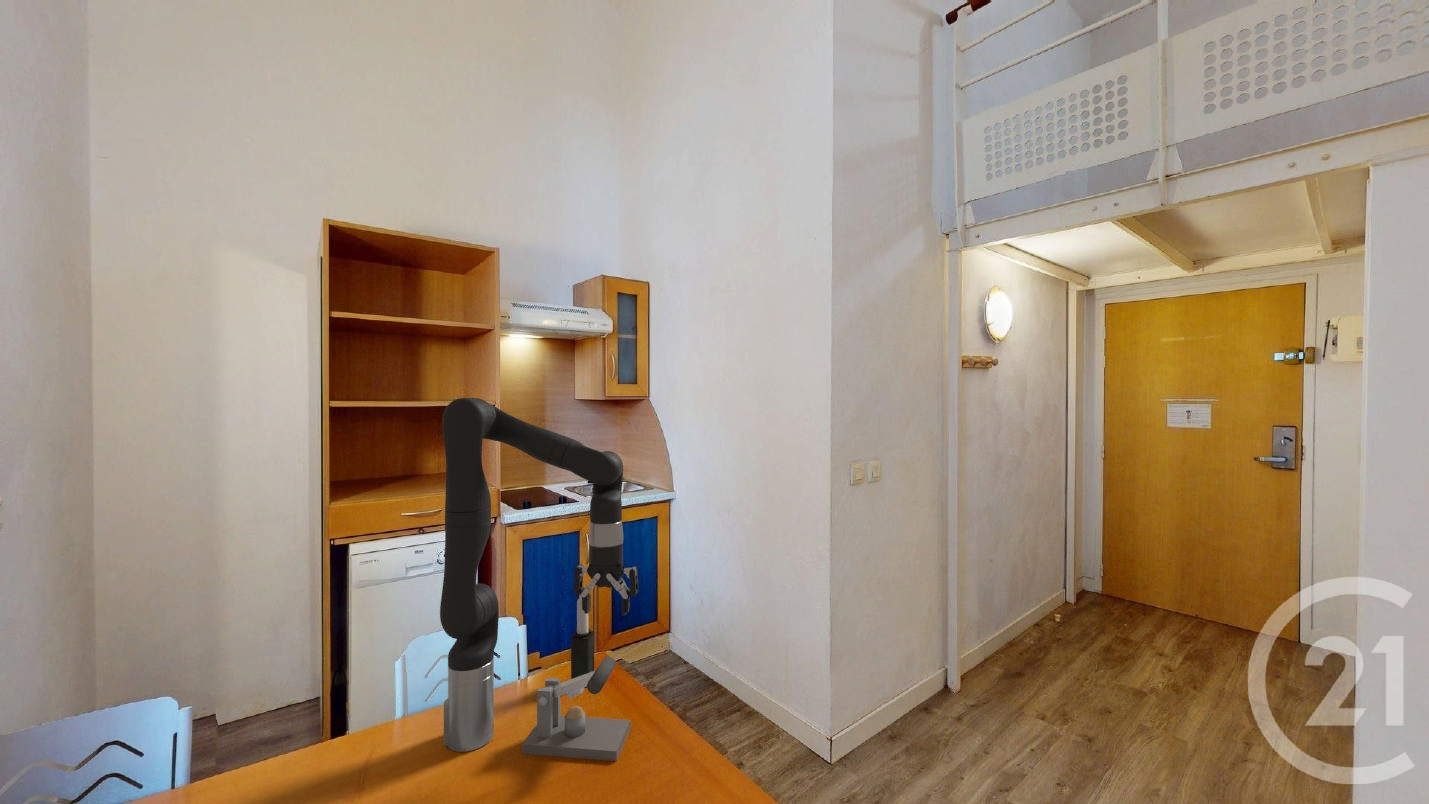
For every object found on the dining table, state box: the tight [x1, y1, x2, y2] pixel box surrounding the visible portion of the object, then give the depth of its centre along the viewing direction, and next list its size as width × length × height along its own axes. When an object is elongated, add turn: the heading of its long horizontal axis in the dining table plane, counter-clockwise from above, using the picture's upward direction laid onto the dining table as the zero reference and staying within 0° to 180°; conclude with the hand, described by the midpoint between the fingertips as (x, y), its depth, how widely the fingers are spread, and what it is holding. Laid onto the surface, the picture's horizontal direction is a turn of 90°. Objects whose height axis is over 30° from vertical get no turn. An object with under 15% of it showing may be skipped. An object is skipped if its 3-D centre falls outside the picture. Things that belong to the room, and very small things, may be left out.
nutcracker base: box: [521, 677, 632, 762], centre depth 118 cm, size 20×11×12 cm, turn 84°
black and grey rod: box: [570, 595, 595, 689], centre depth 143 cm, size 5×5×25 cm
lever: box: [546, 655, 616, 700], centre depth 118 cm, size 16×10×4 cm, turn 84°
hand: (606, 613), depth 121 cm, fingers open, 8 cm apart
